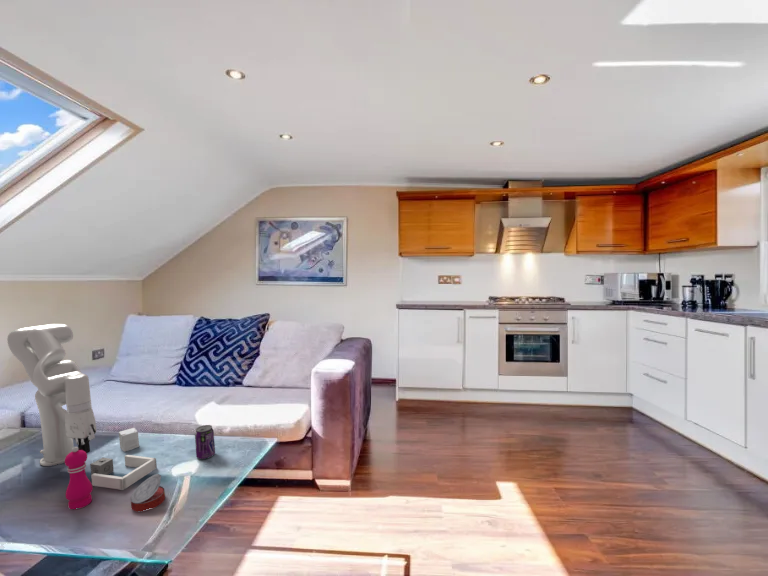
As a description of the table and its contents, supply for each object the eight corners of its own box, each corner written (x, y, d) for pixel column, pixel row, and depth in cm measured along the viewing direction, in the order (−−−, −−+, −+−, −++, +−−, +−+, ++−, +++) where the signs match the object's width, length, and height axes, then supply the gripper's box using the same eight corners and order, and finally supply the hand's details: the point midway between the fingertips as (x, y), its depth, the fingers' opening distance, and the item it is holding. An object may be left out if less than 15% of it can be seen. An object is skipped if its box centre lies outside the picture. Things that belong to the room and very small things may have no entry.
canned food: (161, 518, 133) (157, 501, 128) (127, 520, 131) (122, 503, 125) (171, 486, 142) (168, 469, 137) (140, 487, 140) (135, 470, 135)
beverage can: (208, 461, 160) (206, 432, 159) (192, 459, 162) (190, 431, 161) (218, 452, 167) (217, 424, 166) (203, 451, 169) (201, 424, 168)
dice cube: (101, 478, 150) (100, 465, 150) (91, 476, 151) (90, 463, 151) (113, 471, 155) (112, 459, 154) (104, 469, 156) (103, 457, 156)
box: (92, 485, 145) (91, 475, 145) (127, 464, 160) (127, 454, 159) (123, 490, 142) (122, 479, 141) (156, 468, 156) (156, 458, 156)
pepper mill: (76, 498, 137) (71, 442, 136) (98, 496, 138) (93, 441, 136) (61, 511, 130) (55, 452, 129) (84, 509, 131) (79, 451, 129)
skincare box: (135, 442, 178) (134, 427, 178) (139, 447, 174) (138, 430, 174) (119, 447, 174) (118, 431, 173) (123, 452, 170) (121, 435, 169)
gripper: (54, 410, 151) (59, 456, 152) (85, 411, 147) (90, 459, 148) (74, 403, 158) (79, 447, 159) (103, 404, 154) (108, 450, 155)
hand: (84, 453), depth 154 cm, fingers closed
